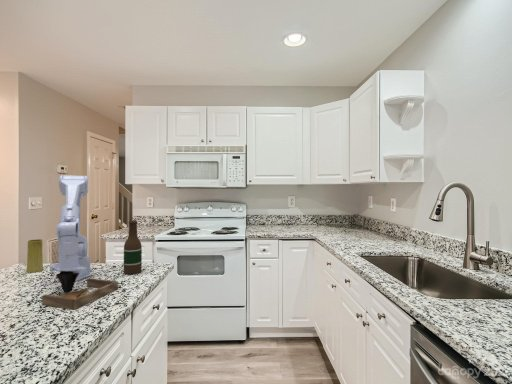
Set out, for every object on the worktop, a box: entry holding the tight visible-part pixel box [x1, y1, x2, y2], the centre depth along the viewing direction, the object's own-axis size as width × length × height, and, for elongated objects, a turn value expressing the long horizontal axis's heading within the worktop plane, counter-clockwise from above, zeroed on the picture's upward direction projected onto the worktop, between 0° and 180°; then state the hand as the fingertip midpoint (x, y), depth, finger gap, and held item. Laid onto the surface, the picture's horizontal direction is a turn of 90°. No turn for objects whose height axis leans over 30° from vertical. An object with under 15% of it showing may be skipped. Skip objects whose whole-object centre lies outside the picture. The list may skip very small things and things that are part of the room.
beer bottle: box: [123, 219, 143, 276], centre depth 121 cm, size 8×8×24 cm
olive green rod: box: [25, 238, 44, 274], centre depth 122 cm, size 6×6×14 cm
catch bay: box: [41, 277, 119, 310], centre depth 93 cm, size 18×14×3 cm
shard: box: [58, 287, 90, 299], centre depth 92 cm, size 11×8×2 cm
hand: (68, 291), depth 95 cm, fingers closed
